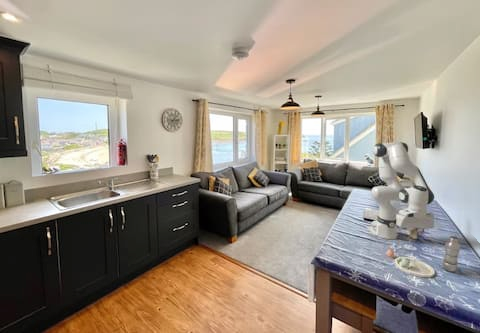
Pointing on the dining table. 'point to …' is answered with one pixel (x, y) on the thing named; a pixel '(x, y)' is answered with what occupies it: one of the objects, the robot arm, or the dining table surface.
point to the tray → (416, 267)
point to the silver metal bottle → (451, 254)
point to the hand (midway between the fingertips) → (414, 234)
